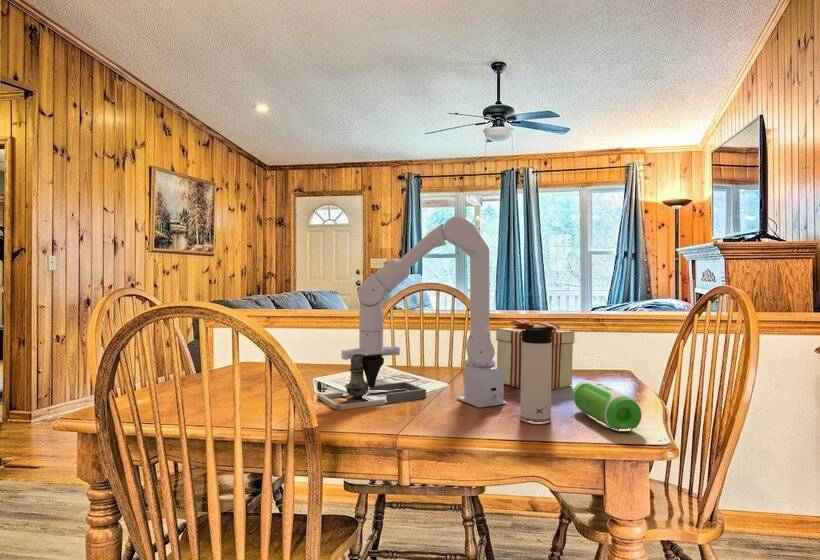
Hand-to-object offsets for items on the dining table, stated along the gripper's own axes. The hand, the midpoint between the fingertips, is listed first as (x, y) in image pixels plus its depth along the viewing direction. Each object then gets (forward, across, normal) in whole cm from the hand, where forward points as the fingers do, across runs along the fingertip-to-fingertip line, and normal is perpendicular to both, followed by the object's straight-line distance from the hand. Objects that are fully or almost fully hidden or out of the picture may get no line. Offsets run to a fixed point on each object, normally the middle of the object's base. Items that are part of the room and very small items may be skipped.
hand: (371, 386), depth 139 cm
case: (+3, -7, 0) cm, 7 cm away
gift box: (+3, -47, +5) cm, 47 cm away
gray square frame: (+3, +5, 0) cm, 6 cm away
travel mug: (+3, -23, +33) cm, 40 cm away
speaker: (+3, -35, +40) cm, 53 cm away
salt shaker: (+3, +4, 0) cm, 5 cm away
